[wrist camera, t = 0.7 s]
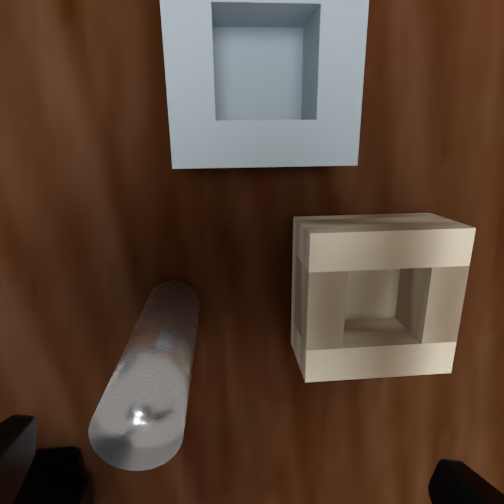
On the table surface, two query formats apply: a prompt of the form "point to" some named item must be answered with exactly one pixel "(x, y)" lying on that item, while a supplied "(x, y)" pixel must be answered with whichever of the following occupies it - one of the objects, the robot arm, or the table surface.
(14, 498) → the robot arm
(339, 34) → the slate block
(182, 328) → the cylinder
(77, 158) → the table surface
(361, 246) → the birch block
